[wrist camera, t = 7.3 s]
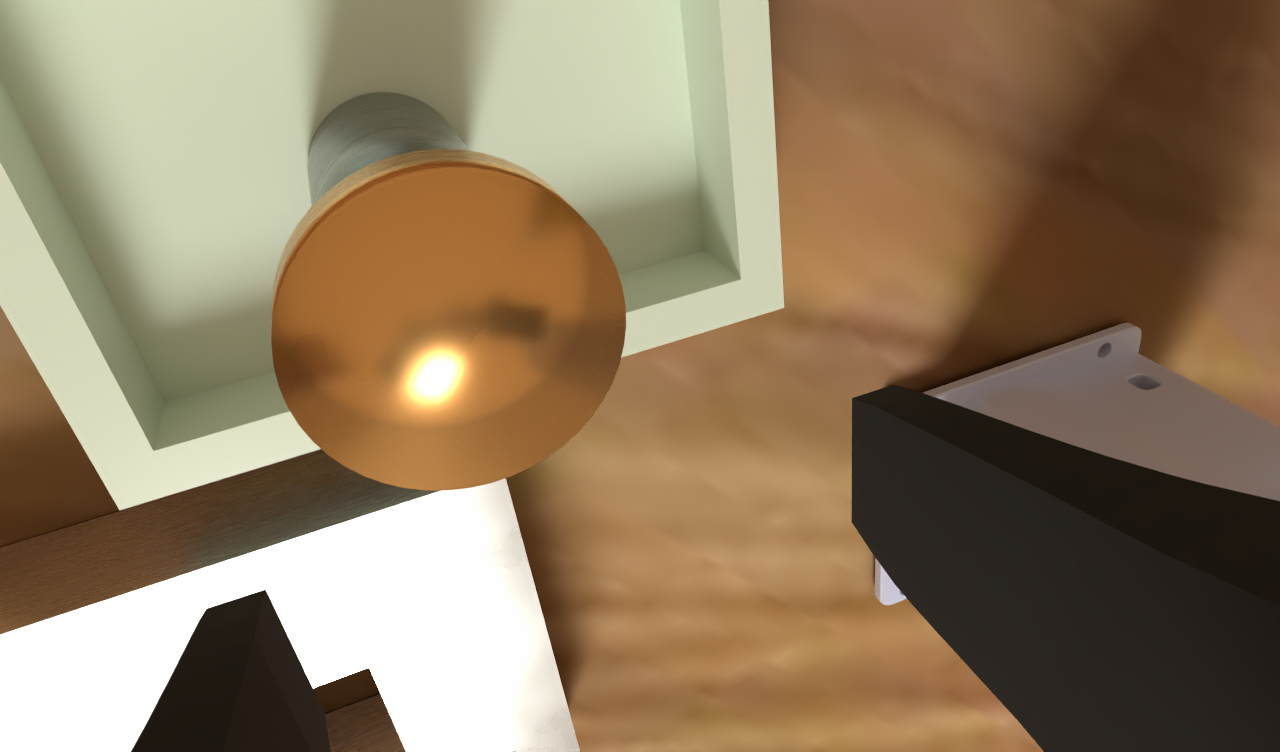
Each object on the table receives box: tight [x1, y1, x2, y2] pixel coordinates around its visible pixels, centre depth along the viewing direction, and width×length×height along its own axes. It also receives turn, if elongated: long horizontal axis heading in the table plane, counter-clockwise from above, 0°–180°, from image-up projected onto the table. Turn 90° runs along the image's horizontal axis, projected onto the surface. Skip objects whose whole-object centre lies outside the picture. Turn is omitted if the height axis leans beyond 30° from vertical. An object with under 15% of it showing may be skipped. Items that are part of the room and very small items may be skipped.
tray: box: [0, 0, 784, 510], centre depth 16 cm, size 14×11×2 cm
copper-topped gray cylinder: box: [271, 92, 626, 491], centre depth 14 cm, size 4×4×8 cm
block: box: [0, 450, 580, 752], centre depth 21 cm, size 12×12×3 cm
